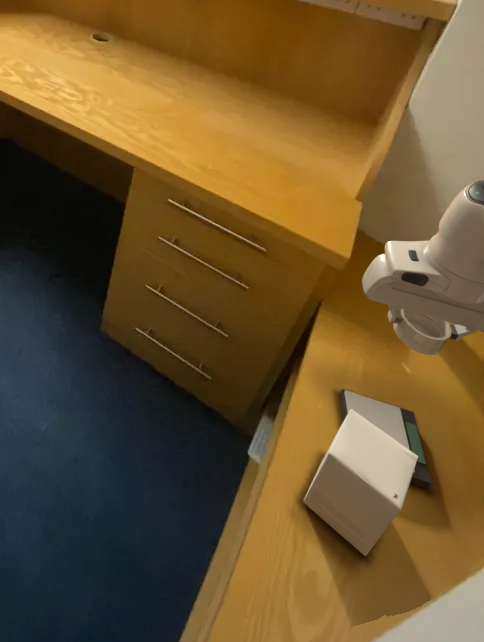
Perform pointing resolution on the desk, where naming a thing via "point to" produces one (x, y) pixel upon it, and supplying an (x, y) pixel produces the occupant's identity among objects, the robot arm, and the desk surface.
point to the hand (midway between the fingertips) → (421, 327)
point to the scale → (390, 428)
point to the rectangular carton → (361, 482)
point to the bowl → (422, 332)
